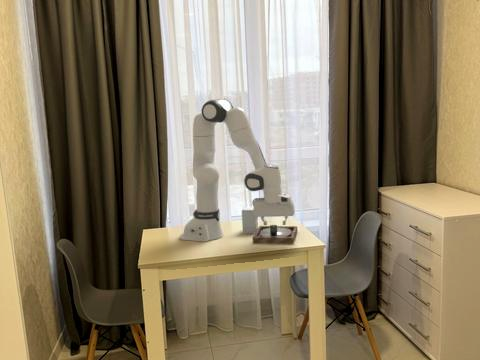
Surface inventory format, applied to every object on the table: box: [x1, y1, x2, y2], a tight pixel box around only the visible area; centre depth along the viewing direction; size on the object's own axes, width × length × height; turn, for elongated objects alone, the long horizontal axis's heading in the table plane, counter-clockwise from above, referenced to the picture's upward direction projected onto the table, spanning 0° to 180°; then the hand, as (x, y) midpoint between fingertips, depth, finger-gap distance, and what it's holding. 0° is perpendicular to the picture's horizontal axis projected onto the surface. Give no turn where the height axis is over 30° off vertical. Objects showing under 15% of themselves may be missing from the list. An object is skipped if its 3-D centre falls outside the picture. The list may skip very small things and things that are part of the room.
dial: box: [260, 224, 292, 237], centre depth 248 cm, size 16×16×7 cm
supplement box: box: [241, 206, 259, 234], centre depth 261 cm, size 7×7×13 cm
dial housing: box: [252, 225, 298, 245], centre depth 249 cm, size 20×20×3 cm
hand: (274, 224), depth 242 cm, fingers open, 8 cm apart
